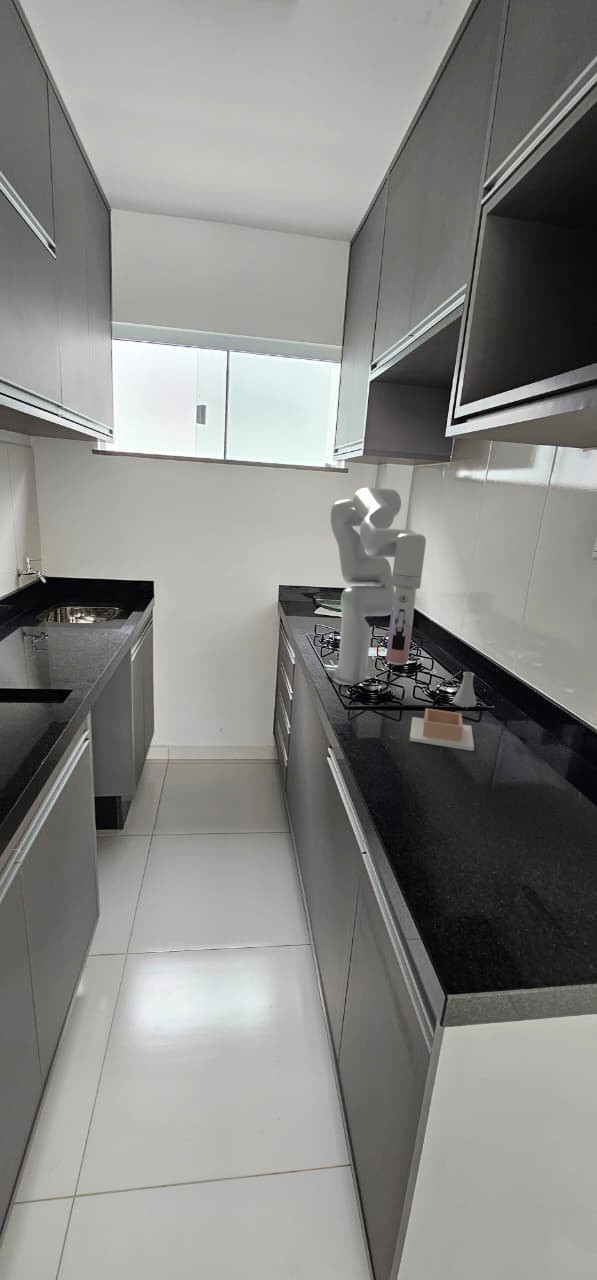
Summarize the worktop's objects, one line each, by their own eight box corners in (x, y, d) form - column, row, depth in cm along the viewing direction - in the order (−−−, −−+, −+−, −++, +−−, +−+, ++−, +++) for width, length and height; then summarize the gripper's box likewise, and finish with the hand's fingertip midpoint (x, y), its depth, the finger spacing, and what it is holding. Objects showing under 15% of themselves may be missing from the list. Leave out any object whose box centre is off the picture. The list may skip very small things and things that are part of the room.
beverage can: (381, 659, 160) (387, 606, 156) (399, 657, 163) (405, 605, 158) (393, 666, 155) (400, 611, 151) (411, 664, 157) (418, 610, 153)
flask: (461, 698, 183) (465, 668, 180) (481, 706, 177) (486, 675, 175) (447, 702, 178) (451, 671, 175) (467, 710, 173) (472, 679, 170)
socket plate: (409, 740, 150) (411, 722, 148) (411, 720, 163) (414, 703, 162) (473, 750, 146) (476, 732, 145) (470, 729, 160) (473, 712, 158)
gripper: (419, 588, 144) (410, 657, 149) (421, 577, 160) (413, 640, 165) (389, 584, 145) (381, 653, 150) (394, 574, 161) (387, 636, 166)
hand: (398, 645), depth 158 cm, fingers closed on beverage can, 6 cm apart
